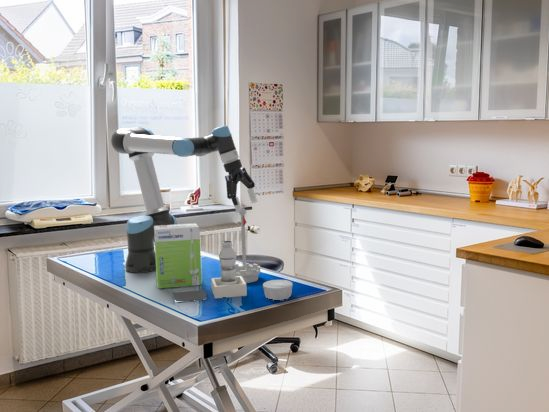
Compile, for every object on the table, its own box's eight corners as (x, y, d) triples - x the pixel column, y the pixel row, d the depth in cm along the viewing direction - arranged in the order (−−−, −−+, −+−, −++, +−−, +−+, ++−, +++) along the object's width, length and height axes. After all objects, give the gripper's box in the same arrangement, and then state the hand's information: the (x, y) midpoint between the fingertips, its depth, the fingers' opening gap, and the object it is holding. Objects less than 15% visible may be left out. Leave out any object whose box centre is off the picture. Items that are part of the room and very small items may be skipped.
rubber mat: (174, 302, 214) (174, 301, 214) (173, 293, 225) (173, 292, 225) (207, 300, 216) (207, 298, 216) (204, 290, 228) (204, 289, 228)
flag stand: (225, 277, 247) (222, 207, 243) (254, 273, 251) (252, 204, 247) (234, 285, 235) (231, 211, 230) (264, 281, 239) (262, 209, 235)
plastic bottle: (220, 290, 228) (218, 240, 225) (237, 289, 228) (235, 239, 225) (220, 295, 221) (217, 243, 218) (237, 294, 222) (235, 243, 219)
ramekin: (270, 303, 210) (269, 289, 210) (258, 295, 220) (258, 281, 220) (298, 299, 215) (297, 285, 214) (285, 291, 225) (285, 278, 224)
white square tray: (215, 298, 218) (214, 286, 217) (211, 289, 229) (211, 278, 229) (246, 295, 220) (246, 284, 220) (241, 286, 232) (241, 275, 231)
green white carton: (198, 278, 246) (196, 222, 242) (202, 285, 236) (199, 226, 232) (156, 282, 241) (153, 225, 238) (158, 289, 231) (154, 229, 228)
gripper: (223, 166, 239) (240, 214, 243) (251, 152, 260) (267, 197, 264) (208, 170, 243) (225, 217, 247) (238, 156, 264) (253, 200, 268)
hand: (247, 207), depth 255 cm, fingers open, 13 cm apart
